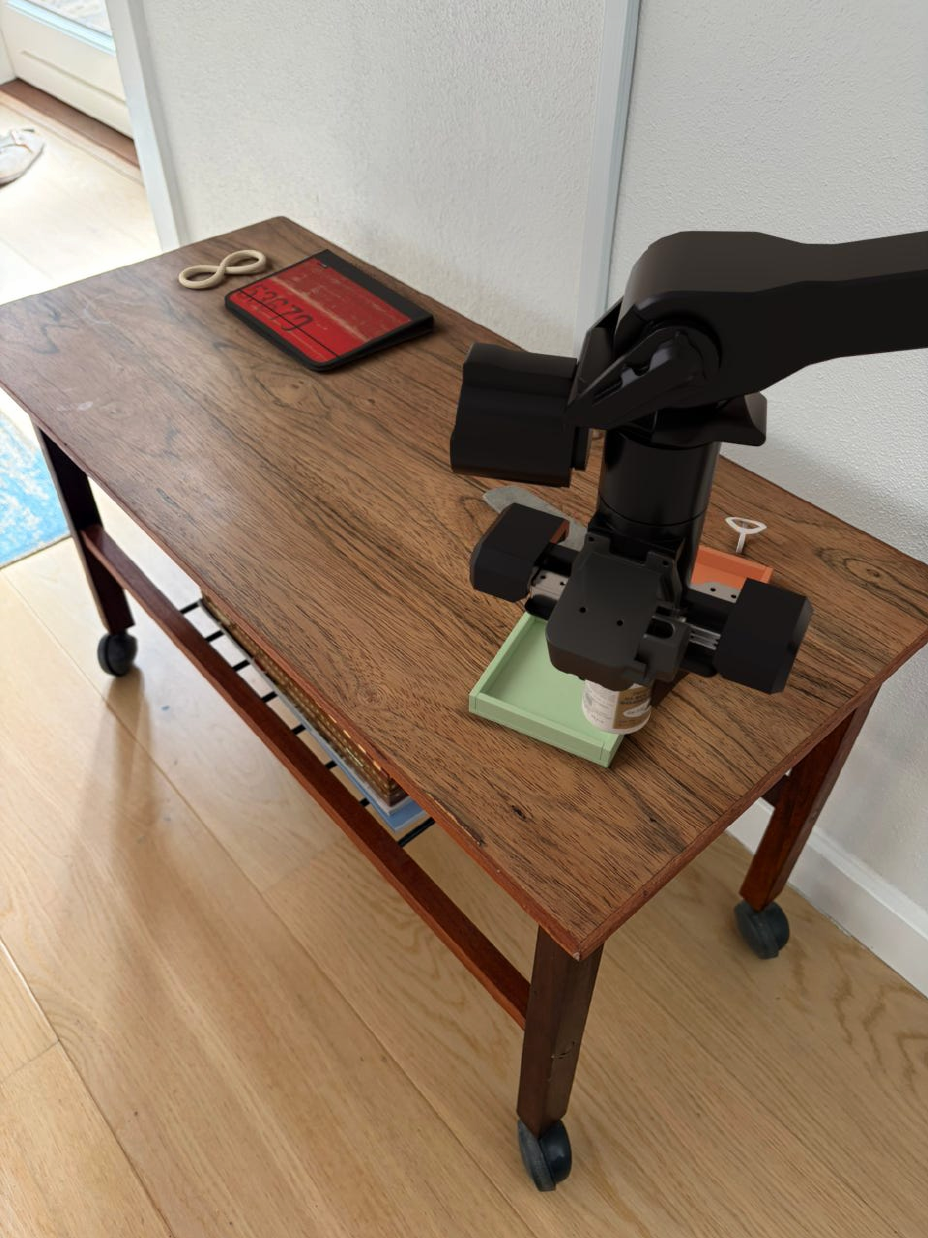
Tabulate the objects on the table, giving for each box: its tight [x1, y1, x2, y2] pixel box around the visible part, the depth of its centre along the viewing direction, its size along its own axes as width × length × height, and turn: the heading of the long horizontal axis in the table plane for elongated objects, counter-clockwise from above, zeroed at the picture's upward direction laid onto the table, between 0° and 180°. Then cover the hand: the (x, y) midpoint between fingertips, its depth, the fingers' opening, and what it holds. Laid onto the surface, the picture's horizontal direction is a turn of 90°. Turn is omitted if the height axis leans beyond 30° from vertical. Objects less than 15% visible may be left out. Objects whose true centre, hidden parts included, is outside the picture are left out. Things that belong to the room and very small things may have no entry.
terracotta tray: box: [691, 544, 775, 590], centre depth 84 cm, size 11×11×2 cm
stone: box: [482, 484, 587, 551], centre depth 91 cm, size 12×2×5 cm
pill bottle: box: [582, 679, 658, 735], centre depth 62 cm, size 4×4×8 cm
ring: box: [725, 516, 768, 554], centre depth 89 cm, size 3×3×3 cm
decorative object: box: [178, 249, 267, 290], centre depth 125 cm, size 11×1×5 cm
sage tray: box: [468, 611, 626, 769], centre depth 78 cm, size 11×11×2 cm
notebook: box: [223, 248, 435, 372], centre depth 117 cm, size 16×2×21 cm
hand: (619, 688), depth 64 cm, fingers closed on pill bottle, 4 cm apart
